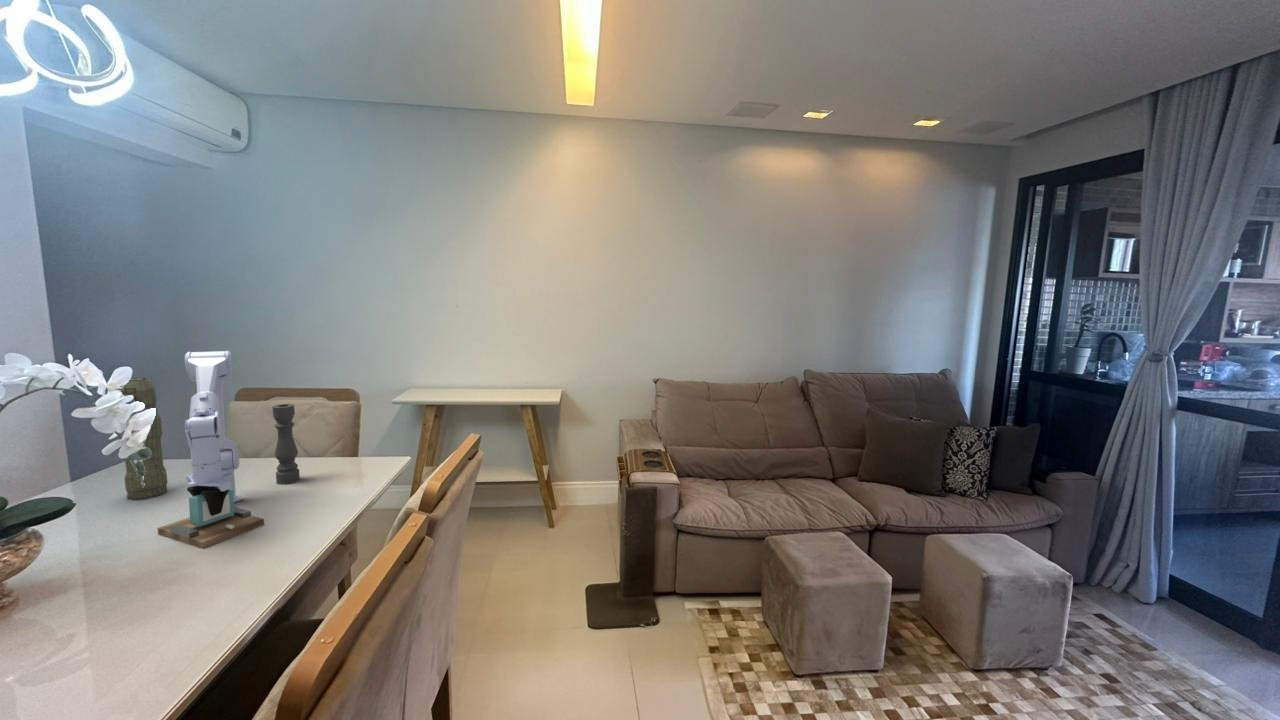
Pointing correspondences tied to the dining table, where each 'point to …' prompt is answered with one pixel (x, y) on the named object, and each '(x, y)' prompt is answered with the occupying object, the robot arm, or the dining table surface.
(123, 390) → the olive green tall column
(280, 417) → the candle holder
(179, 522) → the wooden board
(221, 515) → the teal block
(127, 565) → the dining table surface
